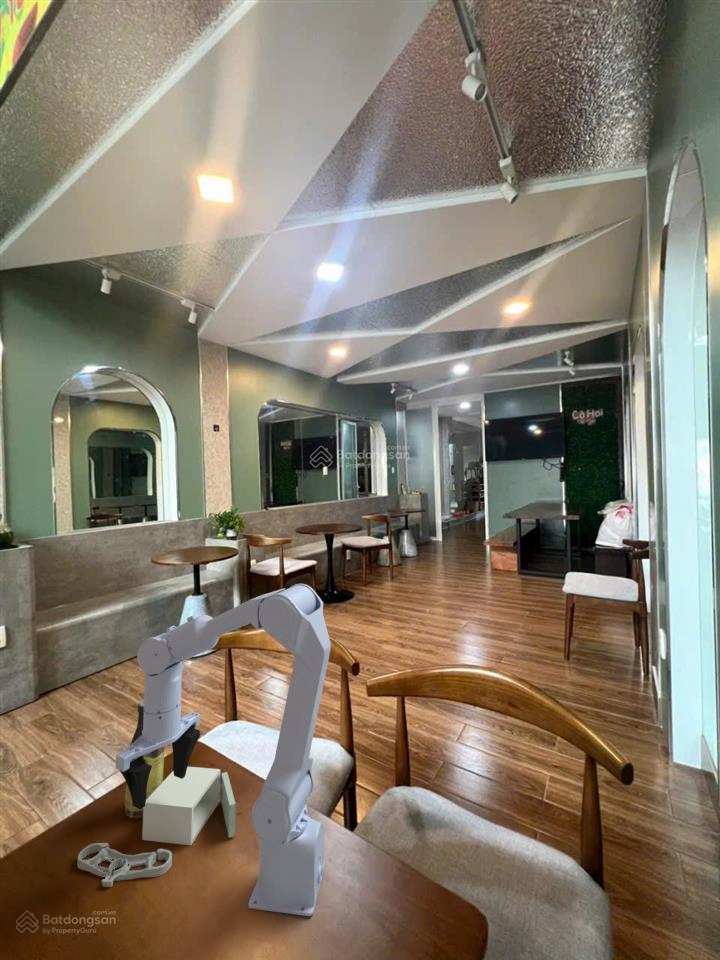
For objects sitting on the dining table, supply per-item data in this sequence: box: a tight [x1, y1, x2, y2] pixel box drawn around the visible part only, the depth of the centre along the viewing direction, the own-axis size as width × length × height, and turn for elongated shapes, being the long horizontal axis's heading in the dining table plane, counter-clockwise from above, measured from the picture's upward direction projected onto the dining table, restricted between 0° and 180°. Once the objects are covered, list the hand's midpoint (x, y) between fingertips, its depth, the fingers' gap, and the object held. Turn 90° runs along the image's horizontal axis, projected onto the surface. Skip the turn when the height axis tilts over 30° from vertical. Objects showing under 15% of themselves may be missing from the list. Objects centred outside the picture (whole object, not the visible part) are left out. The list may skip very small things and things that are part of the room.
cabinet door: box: [220, 771, 236, 838], centre depth 72 cm, size 1×10×5 cm, turn 27°
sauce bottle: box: [124, 698, 166, 820], centre depth 75 cm, size 7×6×20 cm
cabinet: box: [141, 766, 221, 846], centre depth 71 cm, size 9×10×6 cm
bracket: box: [76, 842, 173, 888], centre depth 62 cm, size 8×2×15 cm
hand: (160, 790), depth 65 cm, fingers open, 7 cm apart
